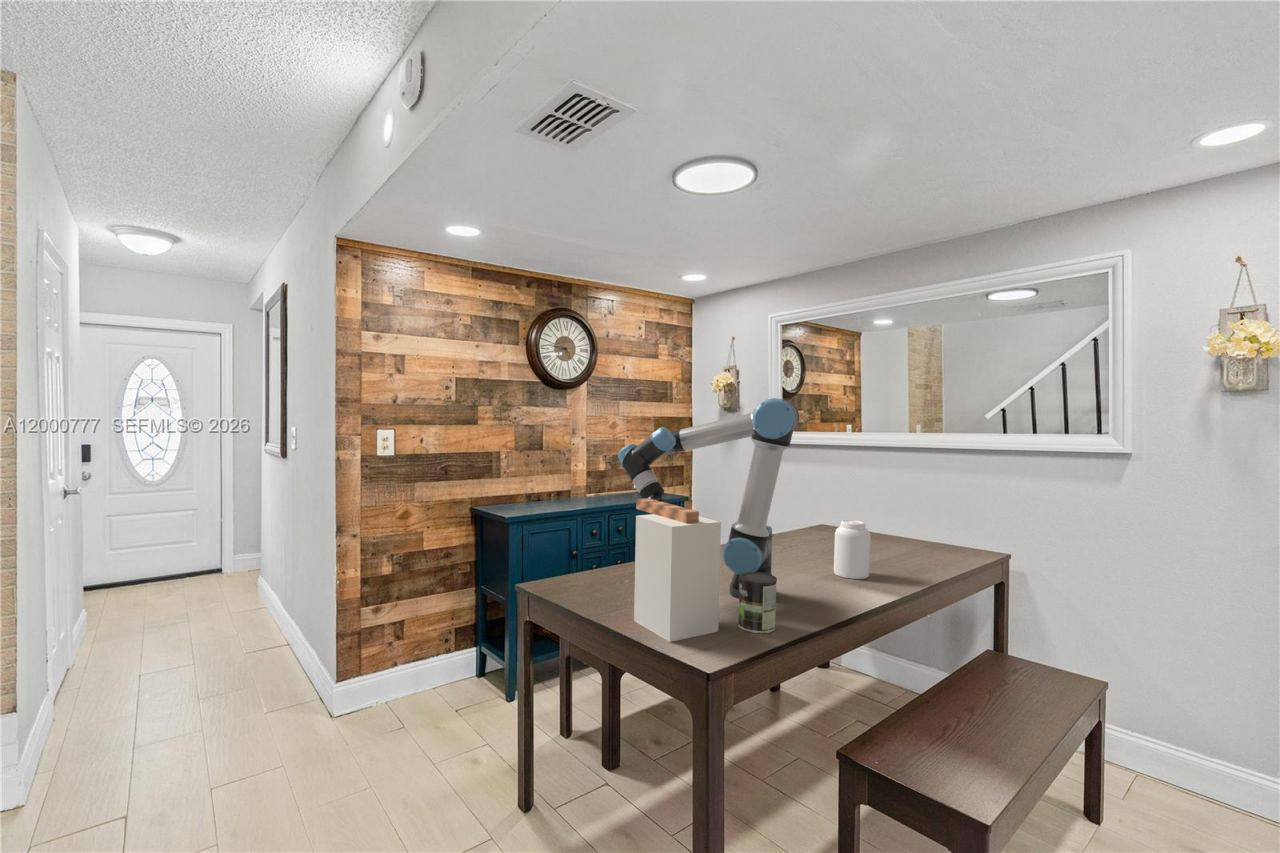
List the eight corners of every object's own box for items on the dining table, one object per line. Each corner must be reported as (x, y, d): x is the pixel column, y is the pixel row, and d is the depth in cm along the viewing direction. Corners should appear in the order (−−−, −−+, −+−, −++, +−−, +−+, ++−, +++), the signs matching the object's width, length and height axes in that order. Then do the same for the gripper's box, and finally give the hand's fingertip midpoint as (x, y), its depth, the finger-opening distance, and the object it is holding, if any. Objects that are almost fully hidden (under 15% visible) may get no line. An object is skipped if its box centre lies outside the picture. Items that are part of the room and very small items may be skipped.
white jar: (874, 580, 223) (876, 525, 223) (839, 579, 223) (841, 524, 223) (862, 571, 236) (864, 518, 235) (829, 570, 236) (831, 518, 235)
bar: (636, 508, 186) (636, 498, 186) (647, 508, 188) (647, 498, 188) (686, 523, 164) (686, 512, 164) (698, 522, 166) (698, 511, 166)
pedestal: (634, 620, 176) (636, 515, 175) (680, 612, 184) (682, 511, 183) (669, 642, 160) (672, 526, 159) (718, 631, 169) (720, 521, 168)
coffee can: (743, 634, 167) (744, 582, 167) (734, 620, 178) (735, 572, 177) (780, 633, 168) (781, 582, 168) (769, 620, 178) (770, 571, 178)
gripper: (653, 498, 212) (685, 551, 203) (624, 489, 189) (658, 548, 181) (670, 485, 210) (704, 539, 202) (643, 475, 188) (679, 534, 180)
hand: (682, 543), depth 191 cm, fingers open, 13 cm apart
